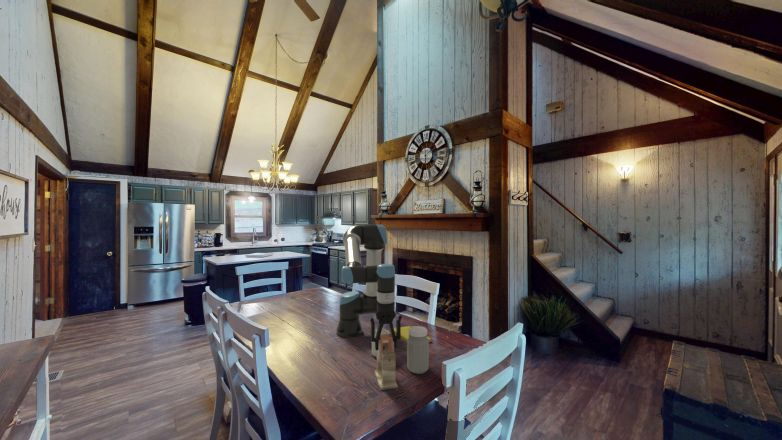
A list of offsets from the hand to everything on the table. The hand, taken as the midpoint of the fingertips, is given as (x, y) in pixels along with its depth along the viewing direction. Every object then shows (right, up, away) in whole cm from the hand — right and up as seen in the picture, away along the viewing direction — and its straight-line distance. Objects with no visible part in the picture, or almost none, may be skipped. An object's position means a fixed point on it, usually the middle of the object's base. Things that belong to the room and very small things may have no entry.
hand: (385, 356), depth 122 cm
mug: (-3, -10, +24) cm, 26 cm away
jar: (+14, -10, +9) cm, 19 cm away
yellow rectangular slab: (+13, -10, +45) cm, 48 cm away
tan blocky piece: (0, -10, 0) cm, 10 cm away
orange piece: (0, 0, 0) cm, 0 cm away
